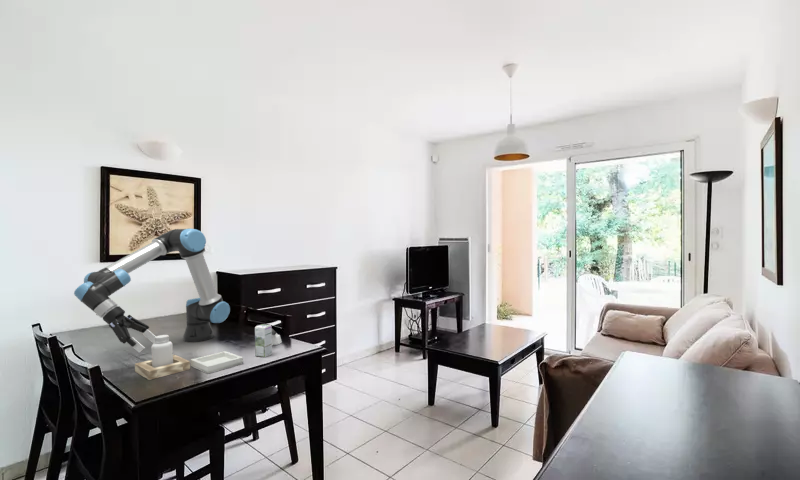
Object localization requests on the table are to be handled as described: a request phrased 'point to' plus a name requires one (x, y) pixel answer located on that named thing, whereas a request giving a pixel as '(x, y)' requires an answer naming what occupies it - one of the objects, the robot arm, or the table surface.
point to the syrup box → (263, 340)
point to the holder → (162, 368)
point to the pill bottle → (162, 351)
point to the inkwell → (275, 338)
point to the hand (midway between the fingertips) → (149, 345)
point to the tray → (216, 362)
